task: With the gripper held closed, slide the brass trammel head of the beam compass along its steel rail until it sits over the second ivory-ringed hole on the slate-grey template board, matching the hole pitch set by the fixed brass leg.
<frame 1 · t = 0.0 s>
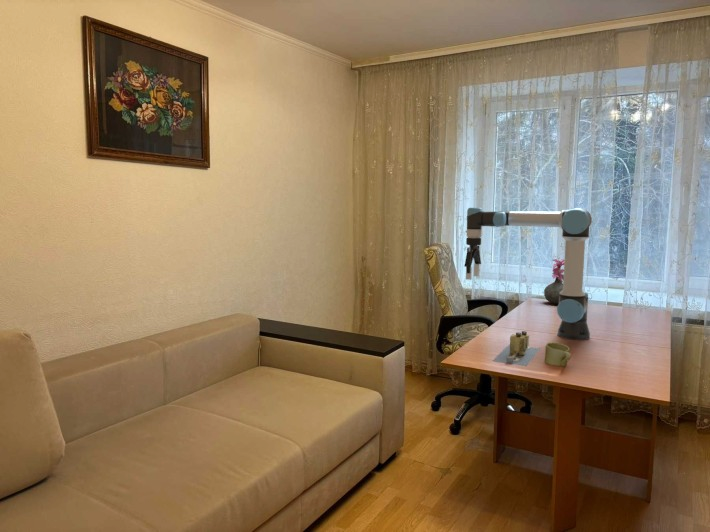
hand: (472, 277, 275), 28 cm above the table, fingers open, 13 cm apart
trammel head: (518, 343, 232), point 6 cm above the table, slide at 0.0 cm
template board: (517, 356, 231), on the table
mug: (558, 366, 218), on the table
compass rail: (517, 346, 231), on the template board, point 4 cm above the table
vase: (556, 304, 351), on the table
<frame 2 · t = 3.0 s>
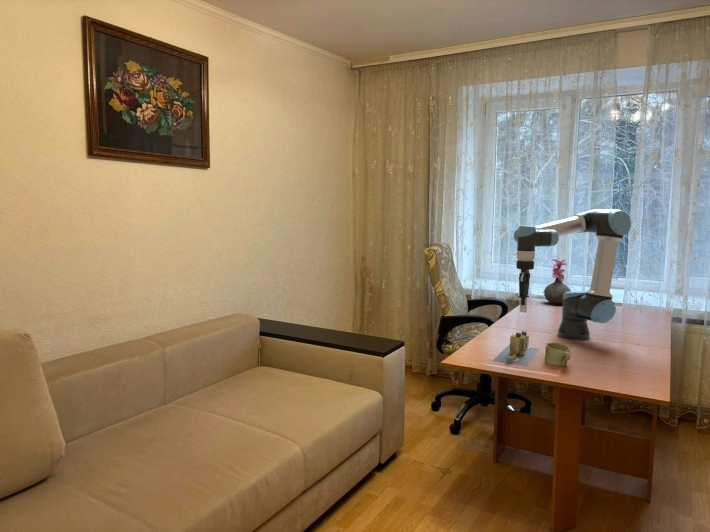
hand: (523, 311, 237), 18 cm above the table, fingers closed
nothing on the table moved.
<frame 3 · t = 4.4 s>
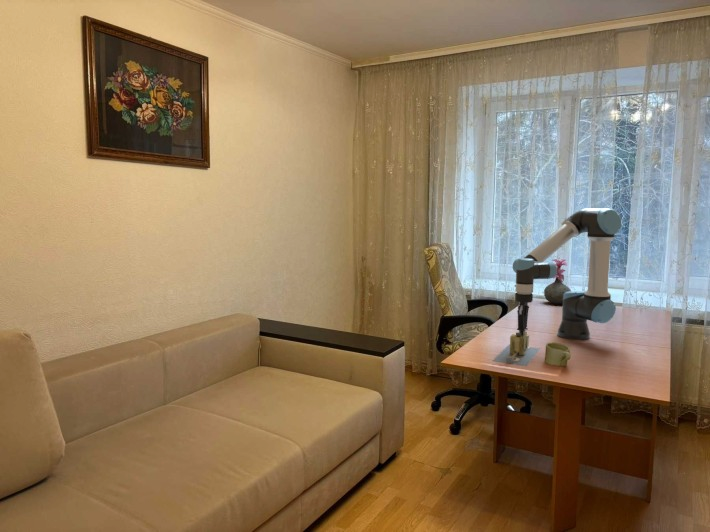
hand: (521, 343, 239), 3 cm above the table, fingers closed
nothing on the table moved.
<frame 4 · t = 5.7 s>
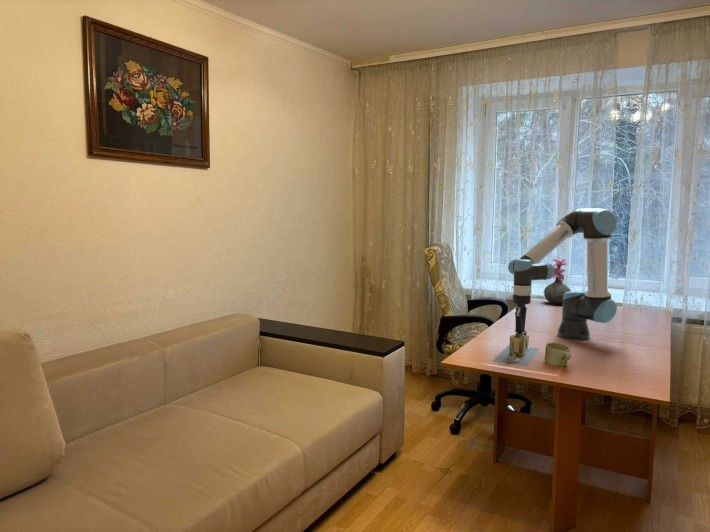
hand: (519, 346, 235), 3 cm above the table, fingers closed
trammel head: (517, 343, 231), point 6 cm above the table, slide at 1.0 cm, touching gripper
everything else where it was.
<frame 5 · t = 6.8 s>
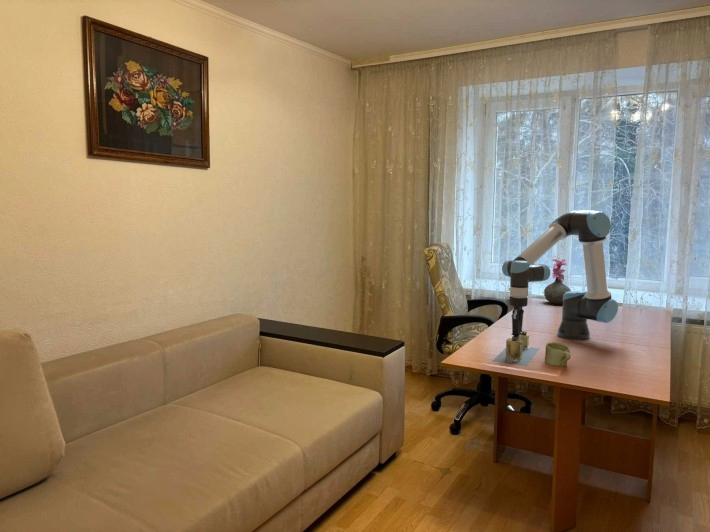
hand: (516, 349, 230), 3 cm above the table, fingers closed
trammel head: (514, 347, 225), point 6 cm above the table, slide at 7.3 cm, touching gripper
everything else where it was.
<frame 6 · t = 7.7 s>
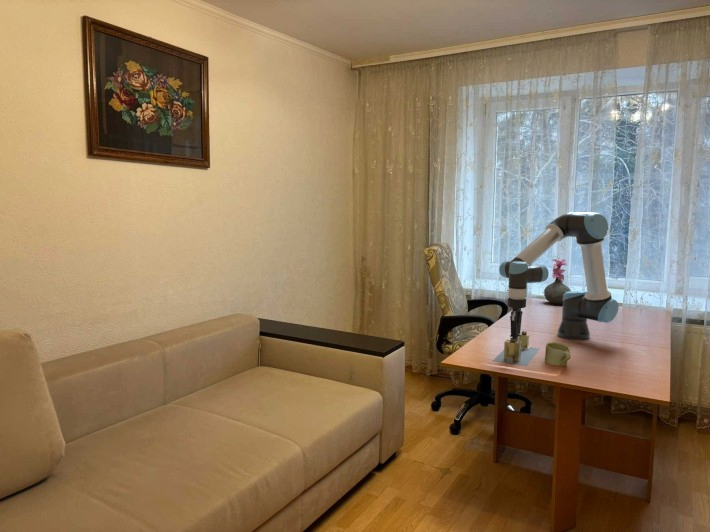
hand: (514, 351, 227), 3 cm above the table, fingers closed
trammel head: (512, 348, 223), point 6 cm above the table, slide at 10.4 cm, touching gripper
everything else where it was.
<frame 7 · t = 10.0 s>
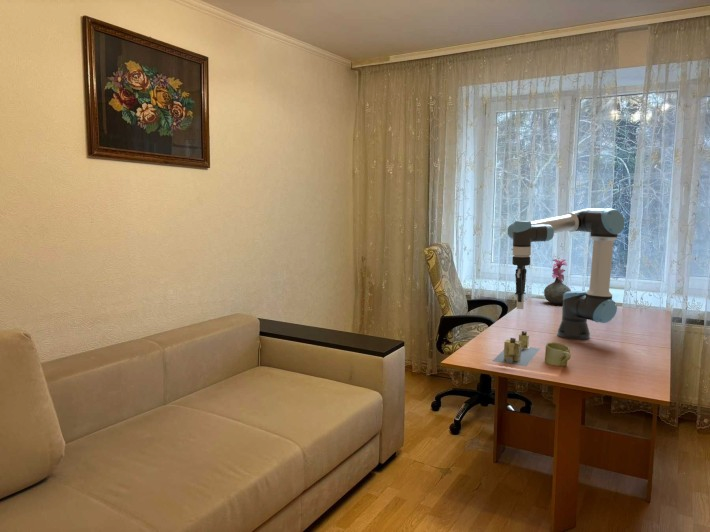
hand: (520, 308, 233), 21 cm above the table, fingers closed
trammel head: (512, 348, 223), point 6 cm above the table, slide at 10.6 cm
everything else where it was.
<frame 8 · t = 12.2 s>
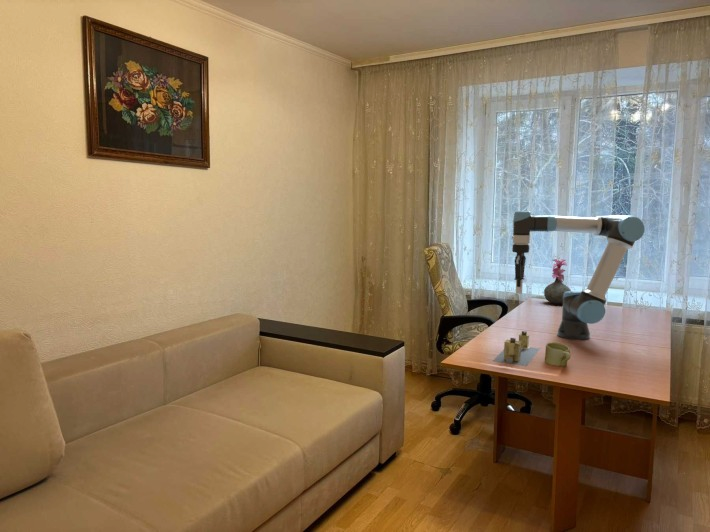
hand: (518, 293, 250), 24 cm above the table, fingers closed
nothing on the table moved.
at the end: trammel head slide at 10.6 cm; trammel head 1.6 cm from the target spot on the template board, point 5.7 cm above the template board's base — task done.
